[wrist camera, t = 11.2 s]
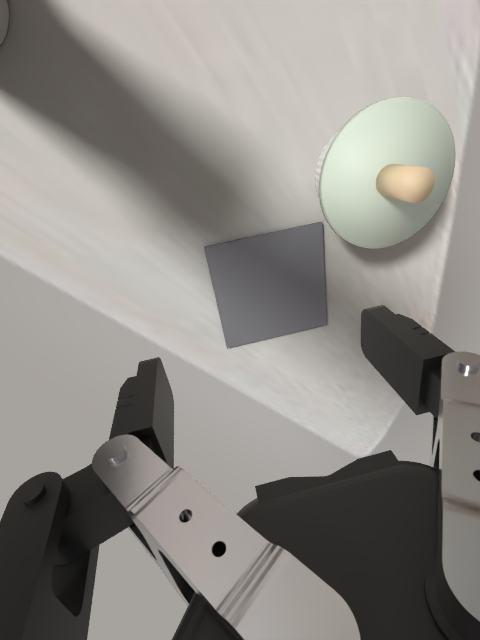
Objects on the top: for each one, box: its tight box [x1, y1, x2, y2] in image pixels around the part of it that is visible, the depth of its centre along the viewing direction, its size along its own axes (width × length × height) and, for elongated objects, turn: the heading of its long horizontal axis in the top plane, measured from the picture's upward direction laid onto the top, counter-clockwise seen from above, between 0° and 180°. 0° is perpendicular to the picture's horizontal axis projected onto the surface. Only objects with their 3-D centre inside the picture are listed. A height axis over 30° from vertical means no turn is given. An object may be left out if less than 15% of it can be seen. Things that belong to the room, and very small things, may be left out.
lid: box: [319, 97, 455, 249], centre depth 35 cm, size 15×15×6 cm
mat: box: [204, 222, 327, 349], centre depth 49 cm, size 16×16×1 cm
